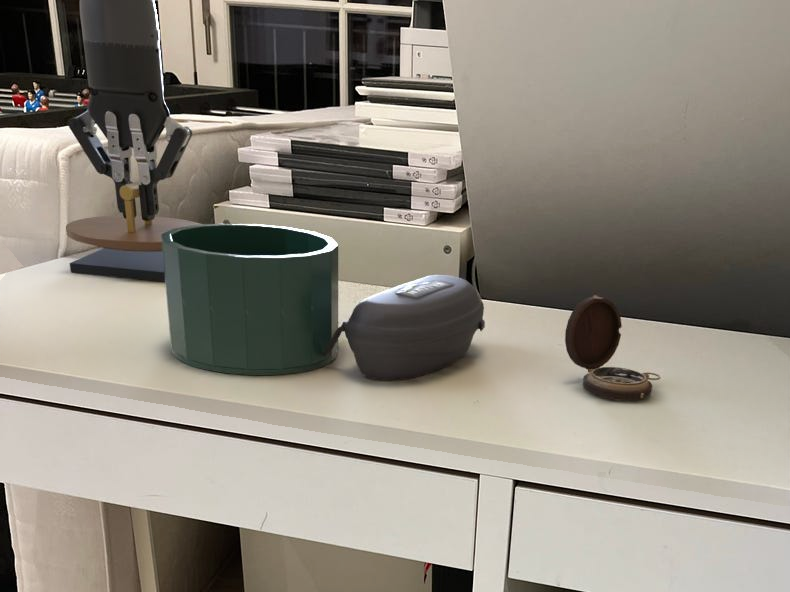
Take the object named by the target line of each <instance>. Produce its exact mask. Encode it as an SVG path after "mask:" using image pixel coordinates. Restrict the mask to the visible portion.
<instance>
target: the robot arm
mask: <svg viewBox="0 0 790 592" xmlns="http://www.w3.org/2000/svg"><path fill="white" fill-rule="evenodd" d="M156 8H157V7H156V3H155V0H79V16H80V17H79V18H80V24H81V25H80V26H81V32H82V42H83V51H84V57H85V67H86V75H87V84H88V87H89V93H90V95H89V99H88V102H87V110H86V111H84V112H83V113H81V114H80V115H78V116H75V117H69V119H68V120H67V126H68V129H69V130H70V131H71V133H72V134H73V136H74V138H75V140H76V141H77V142H78V144H79V145H80V147H81V149H82V150H83V152H84V153H85V155H86V156H87V158H88V160H89V161H90V163H91V165H92V166H93V167H94V169H95V172H97V173H98V174H99V175H104V176H105V177H108V178H110V179H112V181H113V183H114V188H115V196H116V197H115V198H116V204H117V205H116V206H117V210H118V211H119V214H120V213H121V214H122V216H123V217H124V218H125V219H126V210H125V200H124V199H123V198H122V197H121V196H120V188H121V187H122V186H124V185H128V184H131V183H134V181H133V180H131V178H132V162H131V161H132V160H131V158H132V155H134V160H135V162H136V164H137V170H138V177H139V181H141V184H140V185H138V186H139V196H140V197H139V204H140V216H142V220H144V221H151V220H153V219H154V218H155V217H156V215H158V214H159V211H160V205H159V193H158V184H159V182H160V181H163V180H166V179H169V178H172V177H173V176H174V174H175V172H176V170H177V168H178V165H179V163H180V162H181V158H182V157H183V155H184V154H185V151H186V149H187V147H188V145H189V142H190V140H191V138H192V136H193V130H192V129H191V127H189V126H183V125H182V124H180V123H179V122H177V121H176V120H175V119H174V118H173V117H171V116H170V115H171V114H170V110H169V108H168V106H167V104H166V102H165V97H164V79H163V68H162V56H161V55H162V54H161V45H160V41H161V32H160V29H159V21H158V14H157V9H156ZM97 127H98V128H99V130H100V131H101V132H102V134H103V135H104V137H105V139H106V140H107V149H106V148H105V146H104V144H103V143H102V141H101V140H100V138H99V137H98V135H97V131H98V129H97ZM164 130H165V139H166V141H167V142H168V143H167V145H166V147H165V149H164V151H163V153H162V155H161V157H160V160H159V162H157V159H158V151H157V142H158V140H159V138H160V137H161V135H162V133H163V132H164ZM132 149H133V150H132ZM107 150H108V151H107ZM157 163H158V164H157ZM132 200H133V207H134V216H135V217H136V216H137V203H136V198H135V199H132Z"/></svg>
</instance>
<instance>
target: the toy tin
mask: <svg viewBox="0 0 790 592" xmlns="http://www.w3.org/2000/svg"><path fill="white" fill-rule="evenodd" d="M161 242H162V253H163V264H164V276H165V282H164V286H165V296H166V307H167V319H168V320H167V321H168V330H169V331H168V332H169V340H170V341H169V342H170V347H171V349H170V350H171V353H172V355H173V357H175V358H176V359H177V360H179V361H180V362H182V363H184V364H187V365H189V366H192V367H194V368H198V369H201V370H205V371H211V372H216V373H221V374H222V373H223V374H230V375H240V376H241V375H242V376H279V375H290V374H297V373H303V372H304V373H305V372H308V371H312V370H313V371H314V370H316V369H319V368H323V367H325V366H327V365H329V364H330V363H332V362H333V361H334V360H336V357H337V355H338V353H337V352H338V350H339V339H338V340H337V342H336V343H335V345H334V347H333V349H332V351H331V352H330V354H329V355H328V356H324V351H325V350H326V348H327V346H328V344H329V343H330V341H331V339H332V337H333V335H334V333H335V331H336V329H337V328H339V244H338V243H337V242H336V241H335V239H333V238H332V237H330V236H327V235H324V234H321V233H318V232H316V231H312V230H311V231H310V230H305V229H300V228H295V227H294V228H293V227H288V226H281V225H280V226H279V225H271V224H270V225H269V224H257V223H252V224H251V223H205V224H203V225H193V226H186V227H180V228H174V229H171V230H169V231H167V232H165V233H163V234H161Z"/></svg>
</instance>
